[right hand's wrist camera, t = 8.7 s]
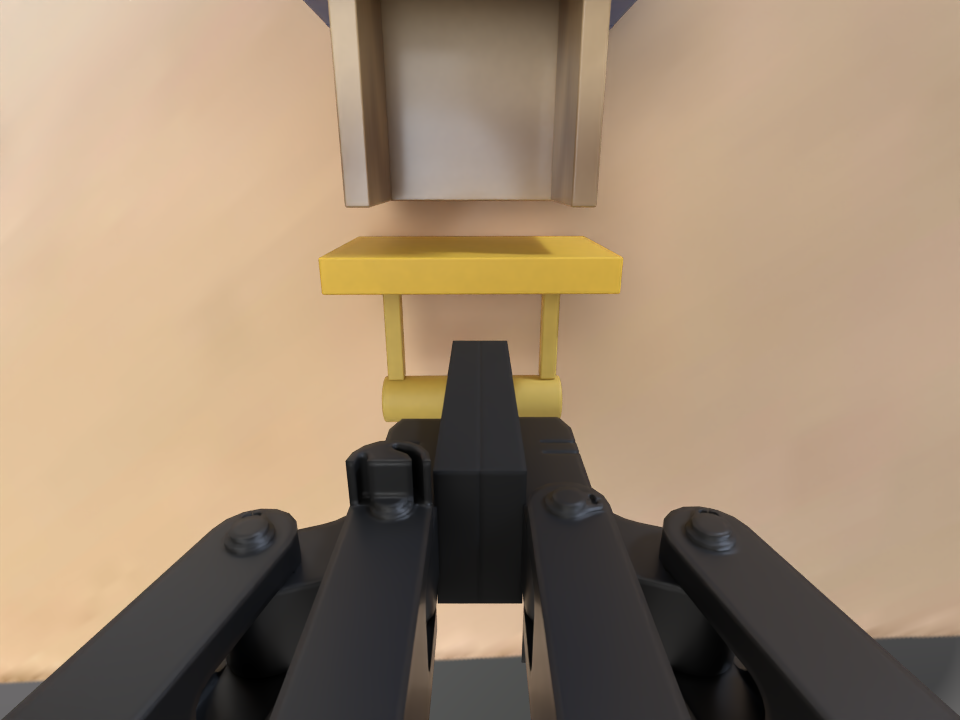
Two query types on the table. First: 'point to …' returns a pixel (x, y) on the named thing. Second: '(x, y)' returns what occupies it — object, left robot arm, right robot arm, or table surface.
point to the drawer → (470, 160)
